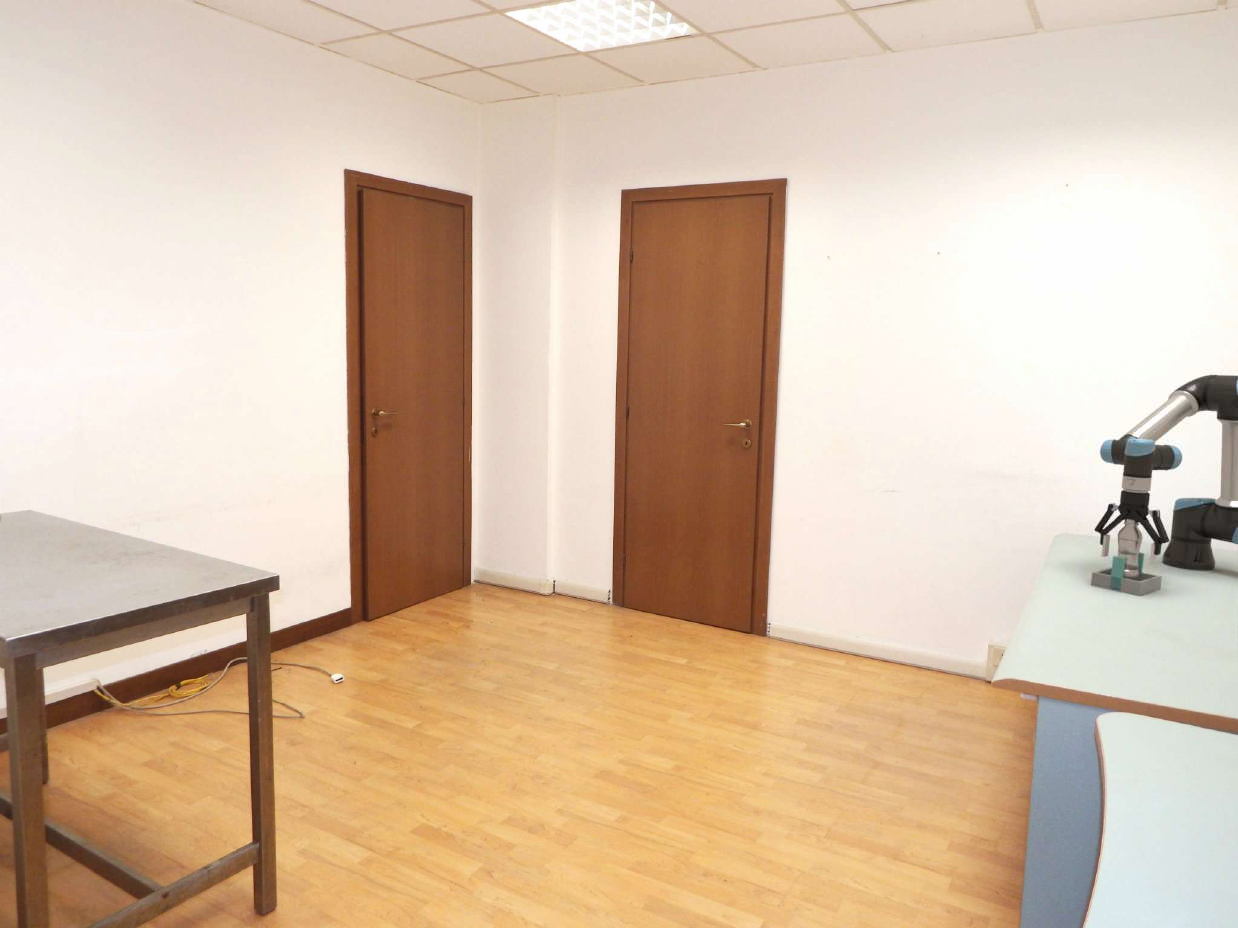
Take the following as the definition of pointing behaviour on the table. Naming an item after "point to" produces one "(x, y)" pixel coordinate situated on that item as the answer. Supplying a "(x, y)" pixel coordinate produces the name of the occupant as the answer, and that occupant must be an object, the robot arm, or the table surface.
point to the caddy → (1115, 580)
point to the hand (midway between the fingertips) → (1128, 560)
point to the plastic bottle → (1130, 548)
